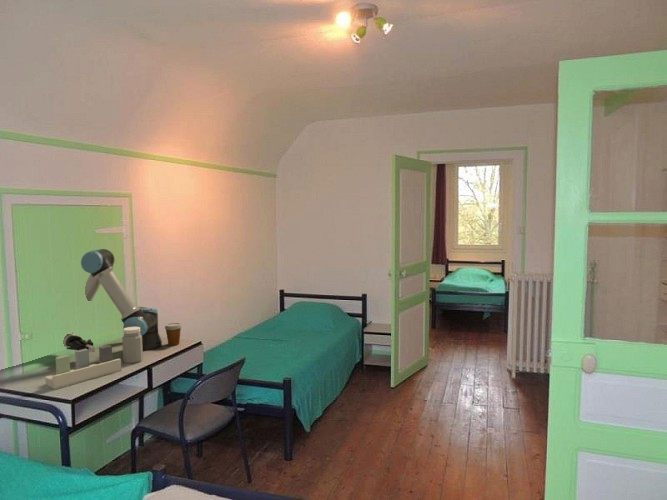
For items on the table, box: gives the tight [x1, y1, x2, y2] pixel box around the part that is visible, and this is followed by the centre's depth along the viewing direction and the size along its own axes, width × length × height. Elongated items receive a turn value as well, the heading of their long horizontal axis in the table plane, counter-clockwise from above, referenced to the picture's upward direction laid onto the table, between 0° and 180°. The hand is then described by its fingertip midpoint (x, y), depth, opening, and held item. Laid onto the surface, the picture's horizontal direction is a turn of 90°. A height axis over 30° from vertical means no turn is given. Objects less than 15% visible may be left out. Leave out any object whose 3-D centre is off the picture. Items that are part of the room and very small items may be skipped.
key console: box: [44, 358, 122, 390], centre depth 227 cm, size 10×31×6 cm, turn 142°
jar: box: [121, 327, 144, 365], centre depth 250 cm, size 10×10×18 cm
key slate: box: [74, 349, 90, 370], centre depth 228 cm, size 3×5×12 cm, turn 142°
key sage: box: [55, 354, 71, 375], centre depth 218 cm, size 3×5×12 cm, turn 142°
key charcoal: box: [98, 344, 114, 364], centre depth 234 cm, size 3×5×12 cm, turn 142°
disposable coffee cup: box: [164, 322, 182, 346], centre depth 282 cm, size 10×10×12 cm
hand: (93, 349), depth 242 cm, fingers closed
